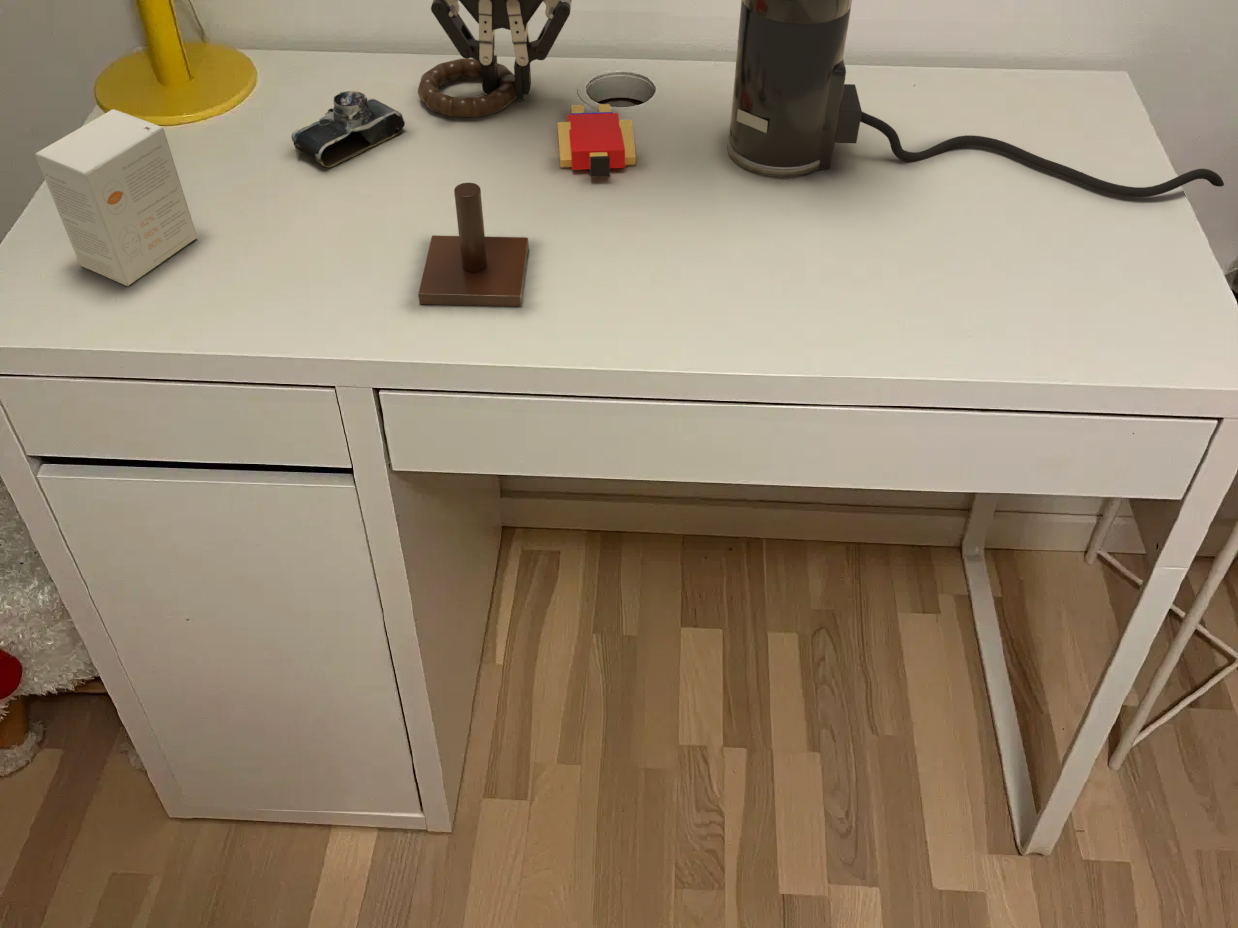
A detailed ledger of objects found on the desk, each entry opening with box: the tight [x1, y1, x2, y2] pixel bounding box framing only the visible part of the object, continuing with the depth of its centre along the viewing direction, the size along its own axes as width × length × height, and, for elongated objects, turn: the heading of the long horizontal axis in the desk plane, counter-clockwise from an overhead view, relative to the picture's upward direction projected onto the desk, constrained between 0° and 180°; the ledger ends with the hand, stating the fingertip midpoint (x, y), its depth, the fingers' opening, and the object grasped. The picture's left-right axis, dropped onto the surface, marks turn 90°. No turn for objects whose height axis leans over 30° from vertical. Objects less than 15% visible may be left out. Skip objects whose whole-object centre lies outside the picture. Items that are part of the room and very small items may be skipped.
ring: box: [417, 58, 516, 118], centre depth 113 cm, size 10×10×2 cm
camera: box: [290, 90, 406, 168], centre depth 106 cm, size 5×10×4 cm, turn 137°
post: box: [417, 182, 529, 307], centre depth 90 cm, size 8×8×8 cm
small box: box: [34, 108, 198, 287], centre depth 91 cm, size 8×6×10 cm
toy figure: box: [557, 103, 637, 178], centre depth 106 cm, size 2×7×12 cm
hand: (508, 95), depth 113 cm, fingers closed on ring, 2 cm apart
